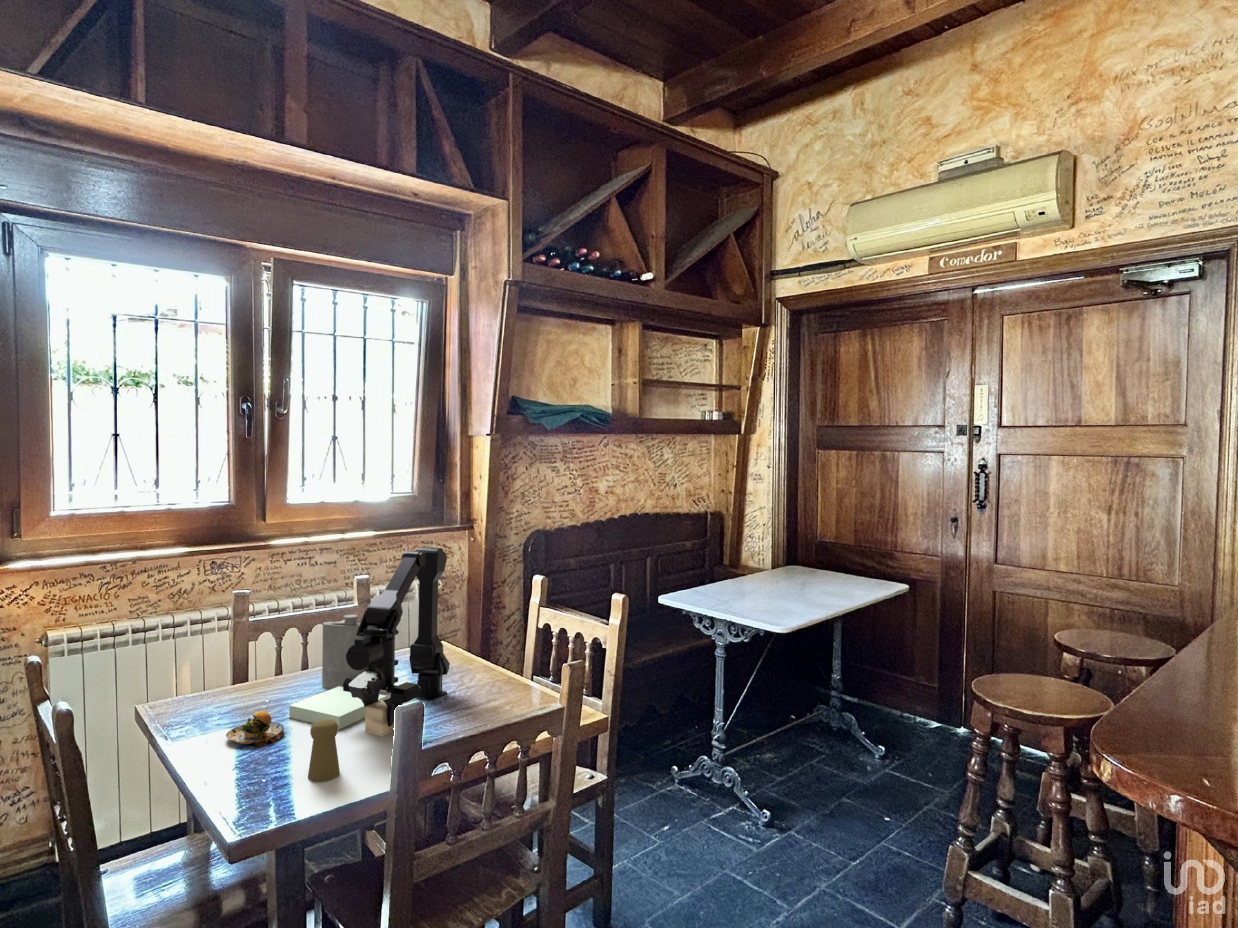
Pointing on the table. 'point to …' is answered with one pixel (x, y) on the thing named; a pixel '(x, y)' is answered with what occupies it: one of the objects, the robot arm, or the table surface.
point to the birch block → (377, 719)
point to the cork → (324, 751)
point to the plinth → (330, 707)
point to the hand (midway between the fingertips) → (381, 723)
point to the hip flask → (338, 651)
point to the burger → (257, 730)
